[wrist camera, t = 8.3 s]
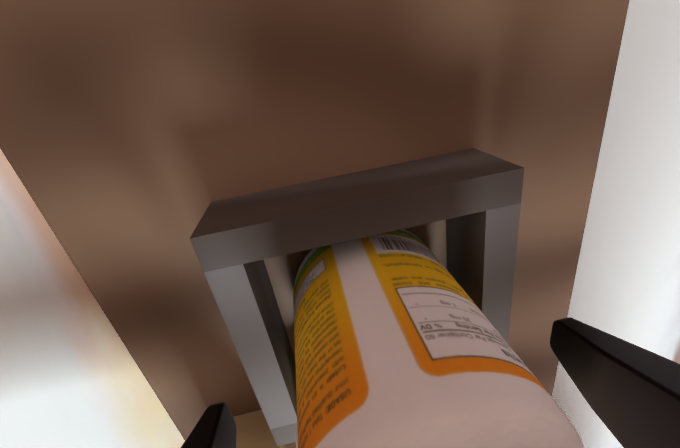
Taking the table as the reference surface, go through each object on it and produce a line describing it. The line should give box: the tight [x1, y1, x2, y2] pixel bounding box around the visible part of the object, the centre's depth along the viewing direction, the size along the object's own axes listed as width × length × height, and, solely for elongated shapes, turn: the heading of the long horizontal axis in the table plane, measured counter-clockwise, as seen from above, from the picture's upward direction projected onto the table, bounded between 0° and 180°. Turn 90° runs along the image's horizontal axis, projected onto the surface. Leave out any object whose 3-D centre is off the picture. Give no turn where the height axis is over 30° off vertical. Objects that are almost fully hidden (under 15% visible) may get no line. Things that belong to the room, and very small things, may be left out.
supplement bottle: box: [293, 229, 584, 448], centre depth 8 cm, size 5×5×10 cm
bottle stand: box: [0, 0, 629, 448], centre depth 10 cm, size 20×18×7 cm
